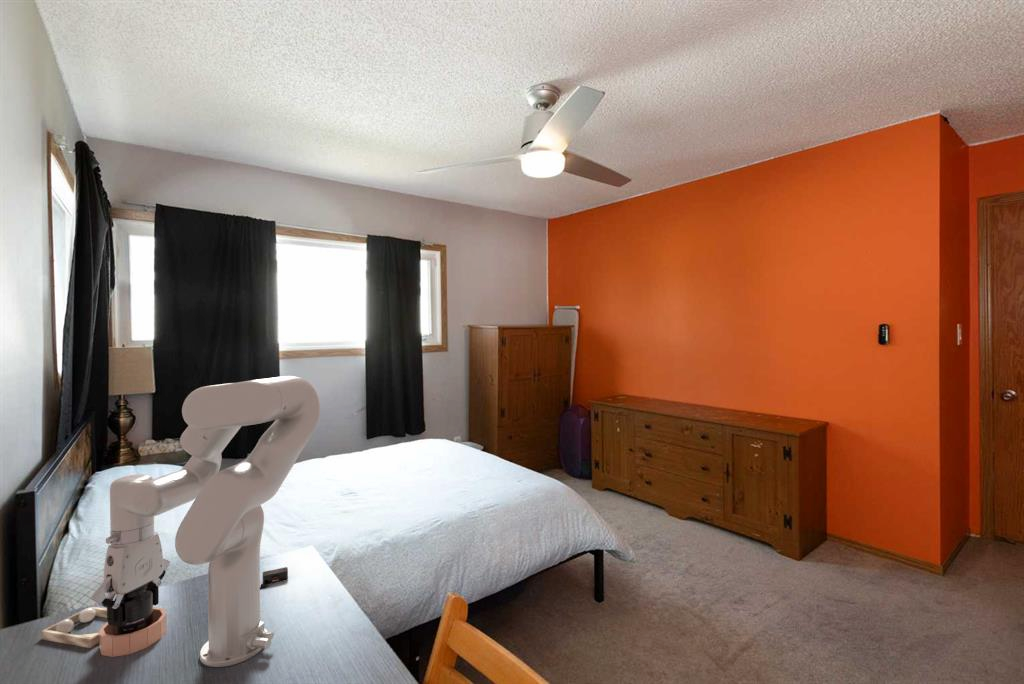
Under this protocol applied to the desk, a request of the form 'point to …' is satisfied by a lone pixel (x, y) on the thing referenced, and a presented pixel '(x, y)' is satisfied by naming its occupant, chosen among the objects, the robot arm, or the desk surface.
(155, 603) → the robot arm
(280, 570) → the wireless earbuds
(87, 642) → the tray
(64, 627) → the pebble
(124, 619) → the supplement bottle
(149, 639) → the bowl
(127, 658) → the desk surface
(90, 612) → the pebble
